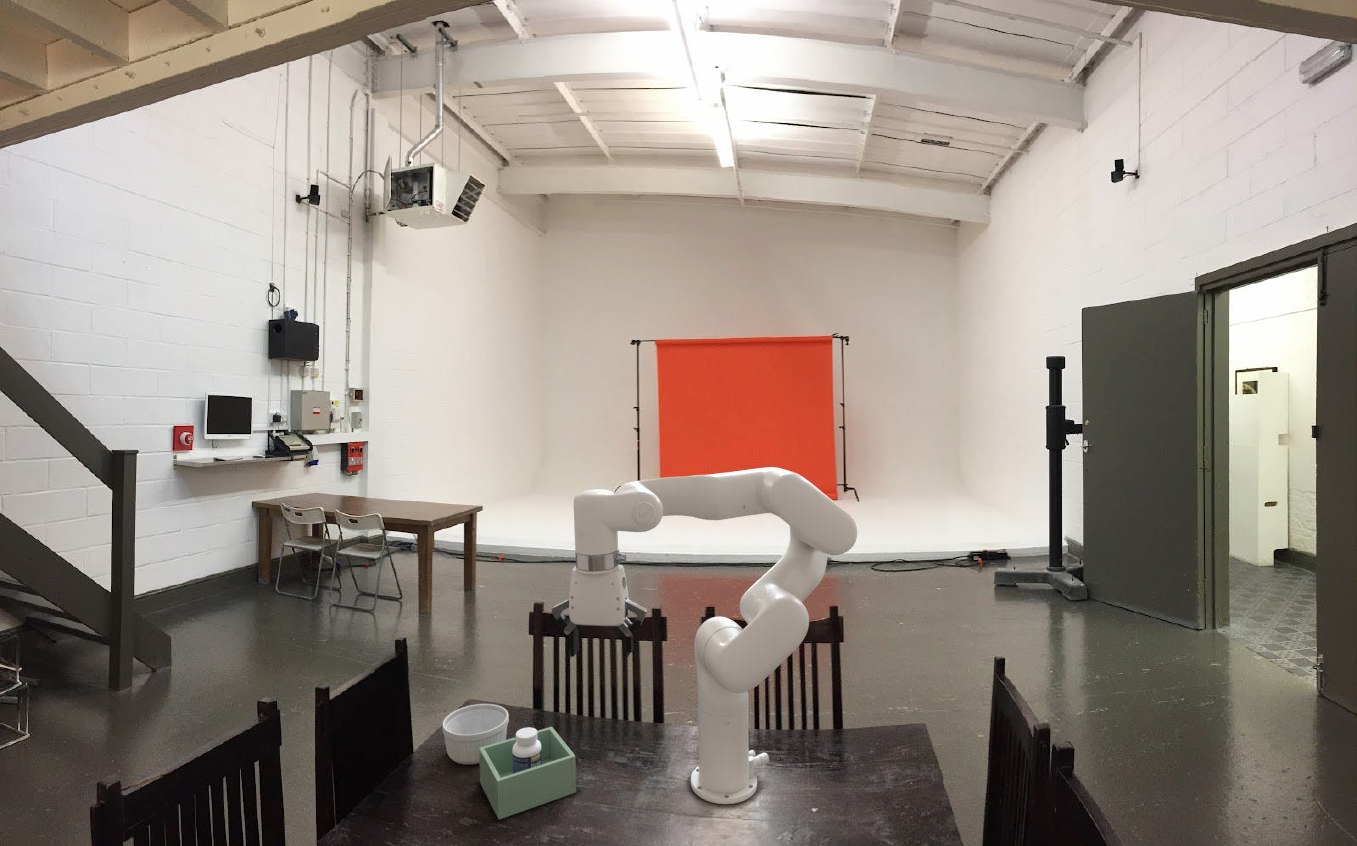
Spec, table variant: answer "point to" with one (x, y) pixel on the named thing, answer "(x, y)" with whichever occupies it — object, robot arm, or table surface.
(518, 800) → the green open box
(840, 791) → the table surface
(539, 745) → the pill bottle
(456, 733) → the ramekin
